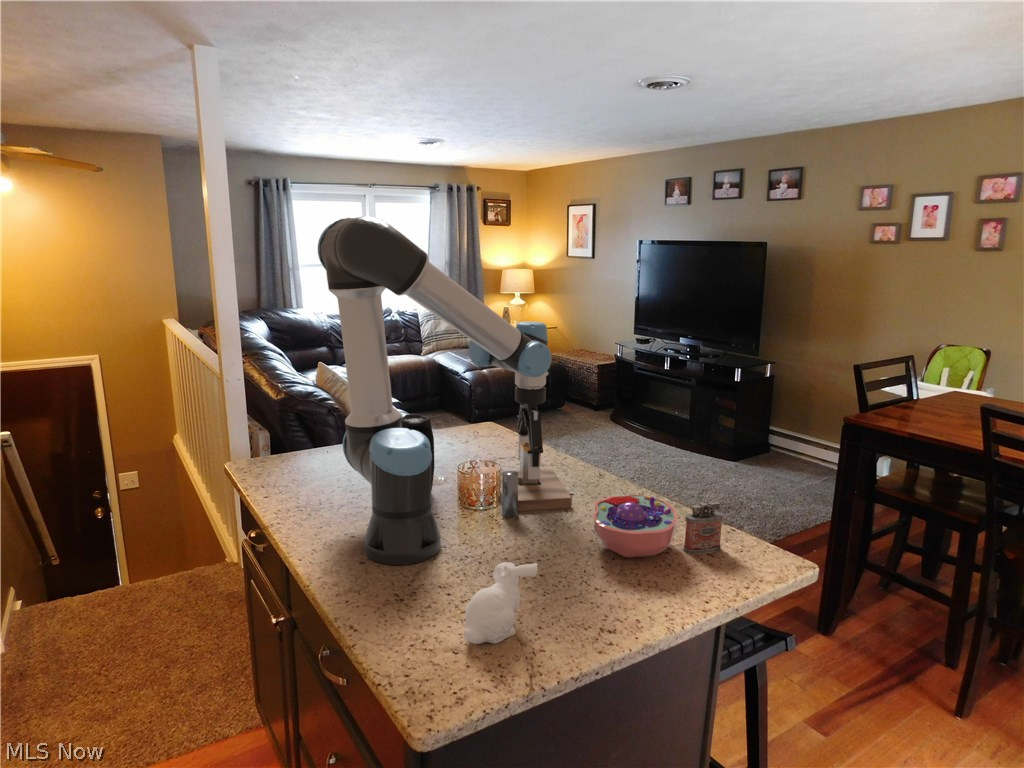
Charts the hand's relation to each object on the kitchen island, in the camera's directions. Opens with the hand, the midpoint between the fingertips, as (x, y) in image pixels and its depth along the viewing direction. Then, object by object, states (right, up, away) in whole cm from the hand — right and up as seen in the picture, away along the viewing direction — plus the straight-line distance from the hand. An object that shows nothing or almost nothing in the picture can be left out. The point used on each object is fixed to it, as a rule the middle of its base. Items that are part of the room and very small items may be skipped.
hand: (528, 469), depth 156 cm
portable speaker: (-28, -6, -2) cm, 29 cm away
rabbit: (-6, -18, -56) cm, 60 cm away
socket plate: (0, -6, -1) cm, 6 cm away
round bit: (-5, -9, -13) cm, 17 cm away
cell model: (+20, -13, -29) cm, 38 cm away
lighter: (+34, -13, -29) cm, 47 cm away
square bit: (0, -6, +1) cm, 6 cm away
